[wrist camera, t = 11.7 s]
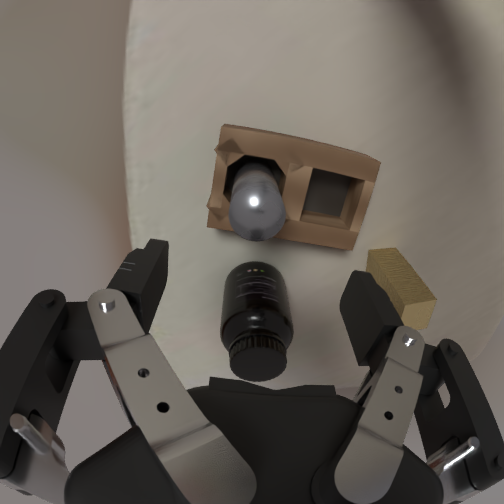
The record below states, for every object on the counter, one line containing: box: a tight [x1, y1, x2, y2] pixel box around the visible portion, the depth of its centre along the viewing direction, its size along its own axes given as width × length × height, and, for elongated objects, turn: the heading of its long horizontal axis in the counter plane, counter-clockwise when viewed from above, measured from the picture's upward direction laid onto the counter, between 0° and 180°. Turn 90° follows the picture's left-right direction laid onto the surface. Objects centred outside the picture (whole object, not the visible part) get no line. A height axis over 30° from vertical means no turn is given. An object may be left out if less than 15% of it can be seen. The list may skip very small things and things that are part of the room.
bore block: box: [207, 124, 381, 250], centre depth 26 cm, size 9×14×4 cm, turn 80°
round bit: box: [228, 158, 286, 241], centre depth 23 cm, size 4×4×10 cm
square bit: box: [366, 248, 437, 330], centre depth 28 cm, size 4×4×10 cm
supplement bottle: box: [220, 261, 294, 382], centre depth 28 cm, size 7×7×12 cm
